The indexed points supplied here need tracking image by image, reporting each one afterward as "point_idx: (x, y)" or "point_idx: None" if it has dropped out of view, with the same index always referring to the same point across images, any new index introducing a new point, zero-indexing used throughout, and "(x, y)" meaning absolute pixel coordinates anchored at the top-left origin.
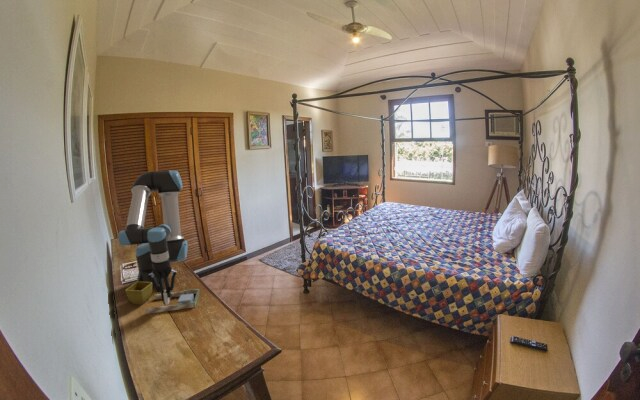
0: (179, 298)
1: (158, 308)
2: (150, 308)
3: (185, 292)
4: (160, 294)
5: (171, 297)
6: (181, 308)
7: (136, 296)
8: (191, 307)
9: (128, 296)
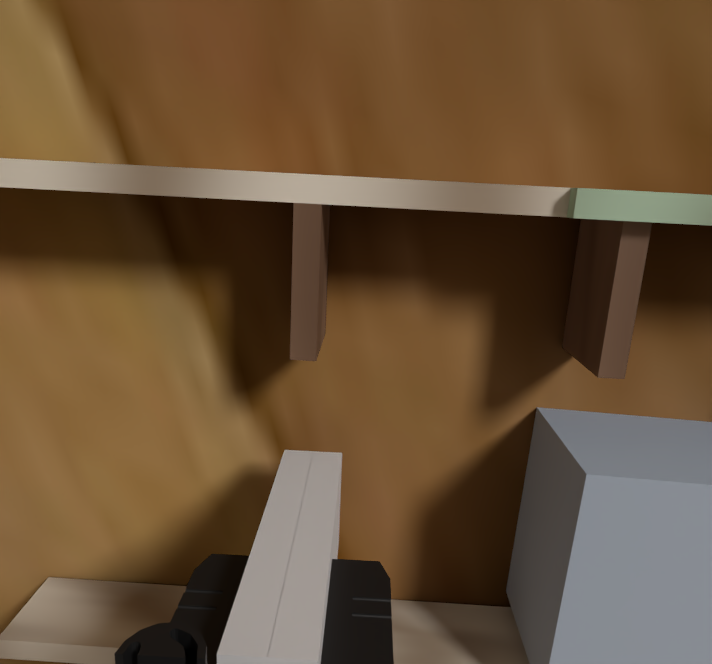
0: (568, 607)
1: None
2: (75, 659)
3: (641, 246)
4: (74, 183)
5: (327, 237)
6: None
7: None
8: None
9: None
